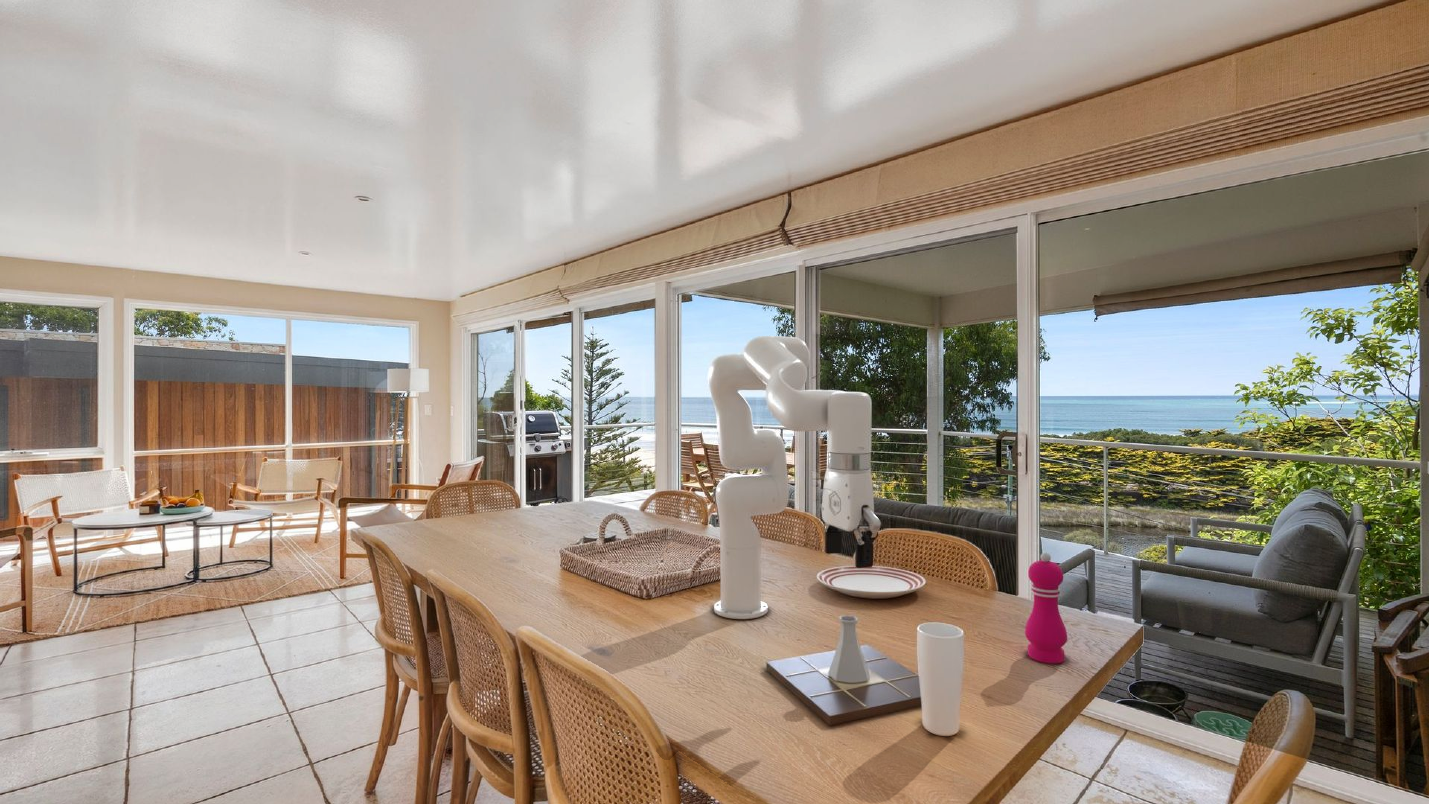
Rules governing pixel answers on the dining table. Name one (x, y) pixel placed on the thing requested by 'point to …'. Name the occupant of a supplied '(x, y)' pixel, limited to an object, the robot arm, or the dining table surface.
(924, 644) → the drinking glass
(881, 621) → the dining table surface
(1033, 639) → the pepper mill
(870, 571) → the dinner plate
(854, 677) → the flask
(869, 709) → the board
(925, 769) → the dining table surface
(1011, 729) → the dining table surface
